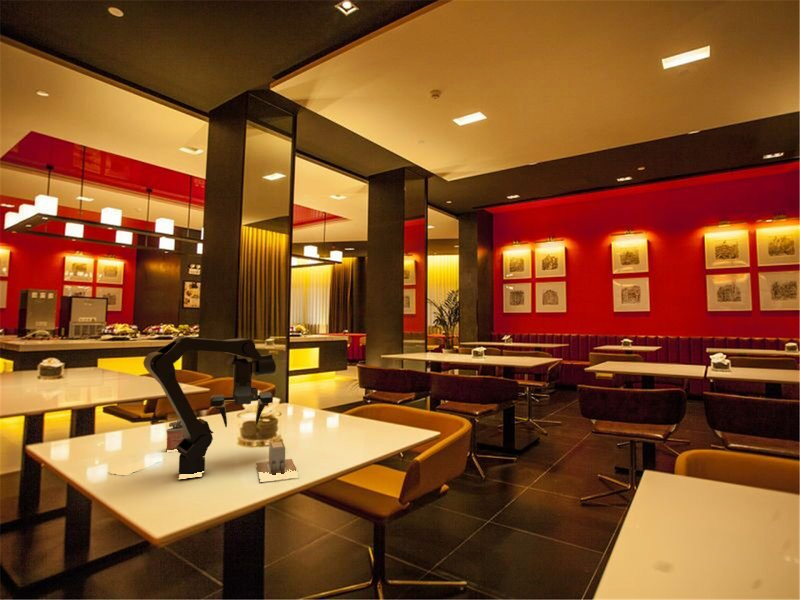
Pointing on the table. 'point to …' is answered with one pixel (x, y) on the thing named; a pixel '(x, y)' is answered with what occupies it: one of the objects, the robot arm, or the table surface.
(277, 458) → the block
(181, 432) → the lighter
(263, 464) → the pin tray
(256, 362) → the robot arm
